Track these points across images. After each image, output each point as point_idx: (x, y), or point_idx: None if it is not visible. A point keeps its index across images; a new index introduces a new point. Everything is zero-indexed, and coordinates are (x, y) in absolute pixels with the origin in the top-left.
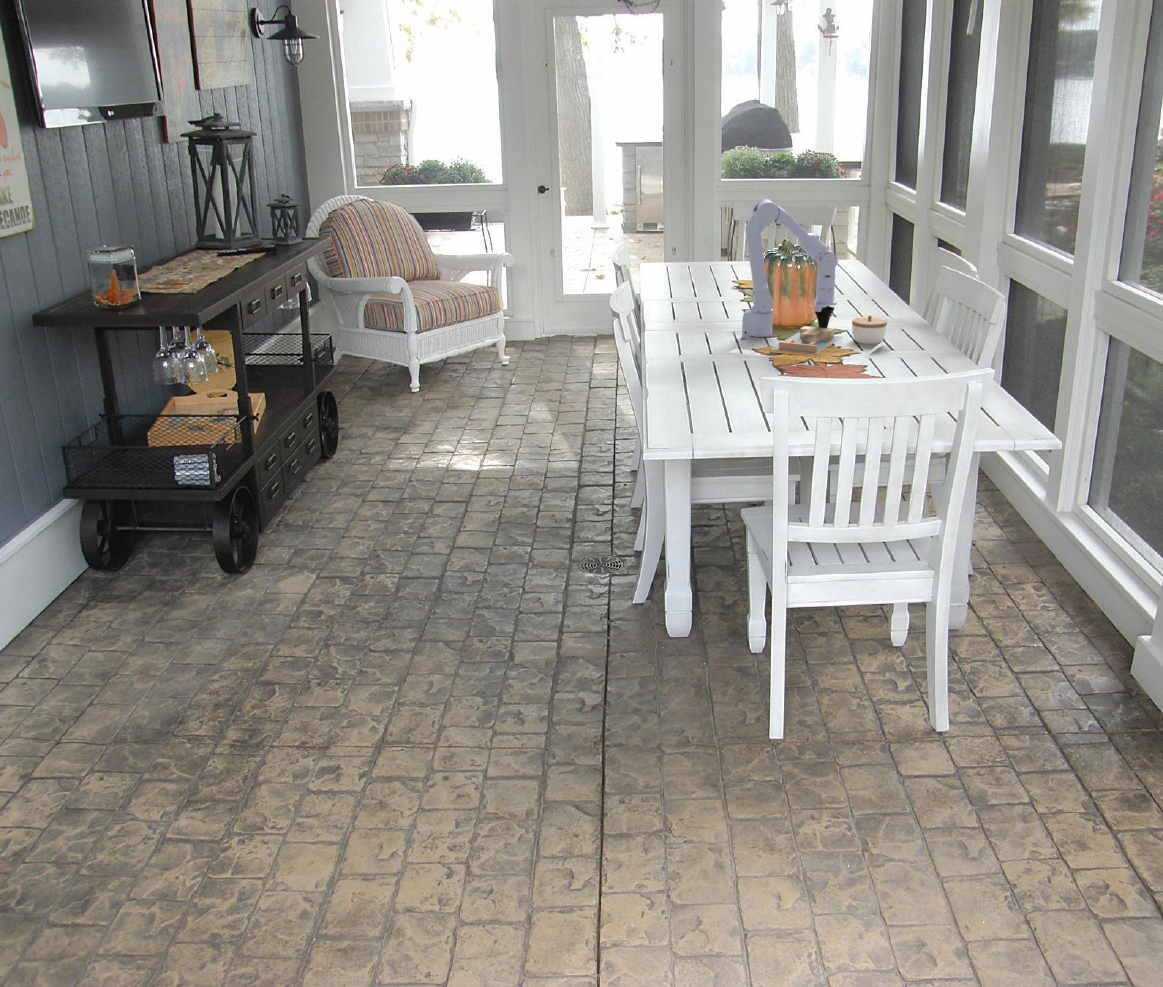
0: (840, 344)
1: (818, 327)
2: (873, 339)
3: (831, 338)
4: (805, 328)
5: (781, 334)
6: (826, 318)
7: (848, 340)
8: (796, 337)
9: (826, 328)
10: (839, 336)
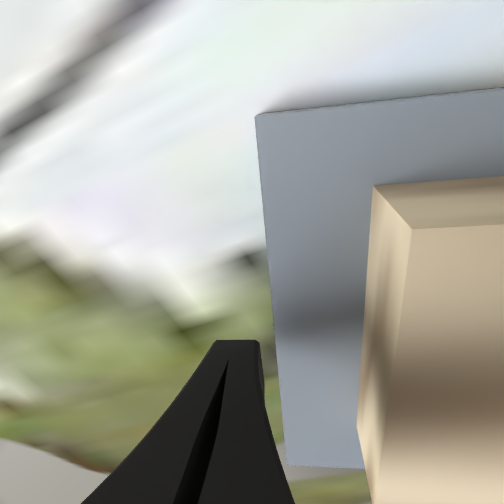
0: (468, 41)
1: (389, 416)
2: None
3: (468, 183)
4: (493, 494)
5: (294, 499)
6: (287, 489)
7: (214, 45)
8: None
9: (419, 332)
10: (259, 156)
